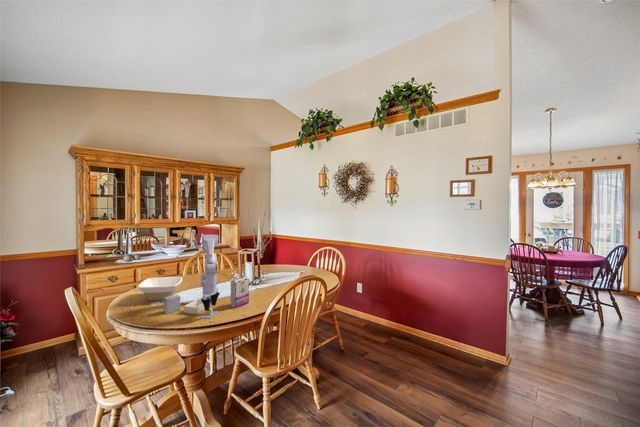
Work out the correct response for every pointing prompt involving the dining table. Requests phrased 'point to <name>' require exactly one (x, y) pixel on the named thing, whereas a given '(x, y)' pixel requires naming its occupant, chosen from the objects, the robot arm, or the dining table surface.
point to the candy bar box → (239, 292)
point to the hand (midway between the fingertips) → (210, 307)
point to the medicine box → (171, 304)
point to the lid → (209, 314)
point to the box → (194, 307)
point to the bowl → (159, 287)
